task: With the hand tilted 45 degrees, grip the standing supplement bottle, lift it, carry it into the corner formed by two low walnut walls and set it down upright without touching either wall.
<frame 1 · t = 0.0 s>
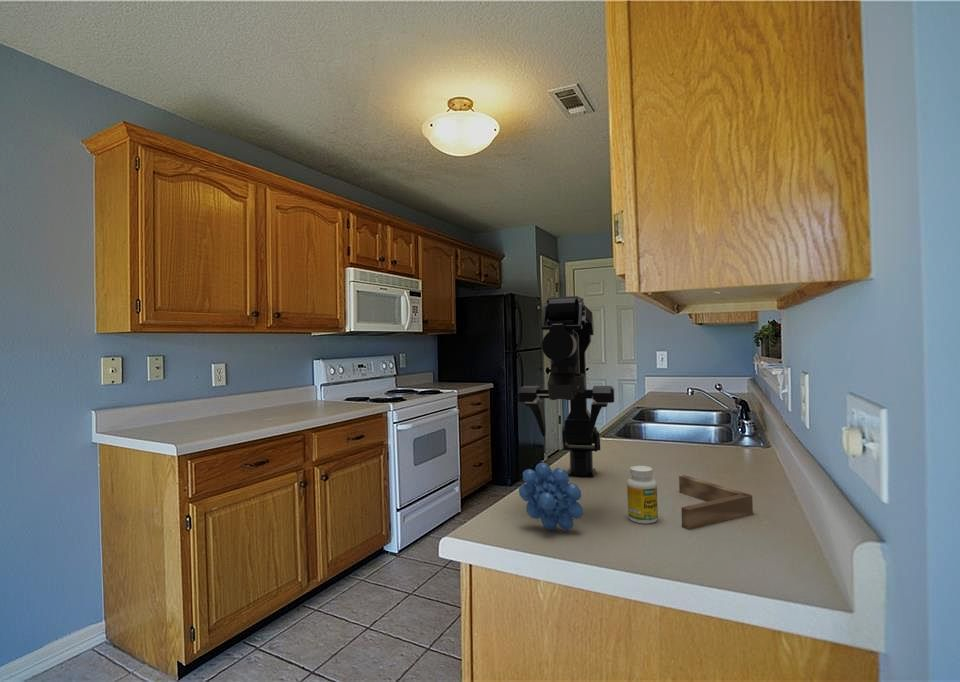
hand: (566, 437, 98), 15 cm above the counter, tool pointing down, fingers open, 9 cm apart
supplement bottle: (642, 520, 92), on the counter
walnut corner walls: (685, 513, 95), on the counter
grapes: (550, 532, 87), on the counter
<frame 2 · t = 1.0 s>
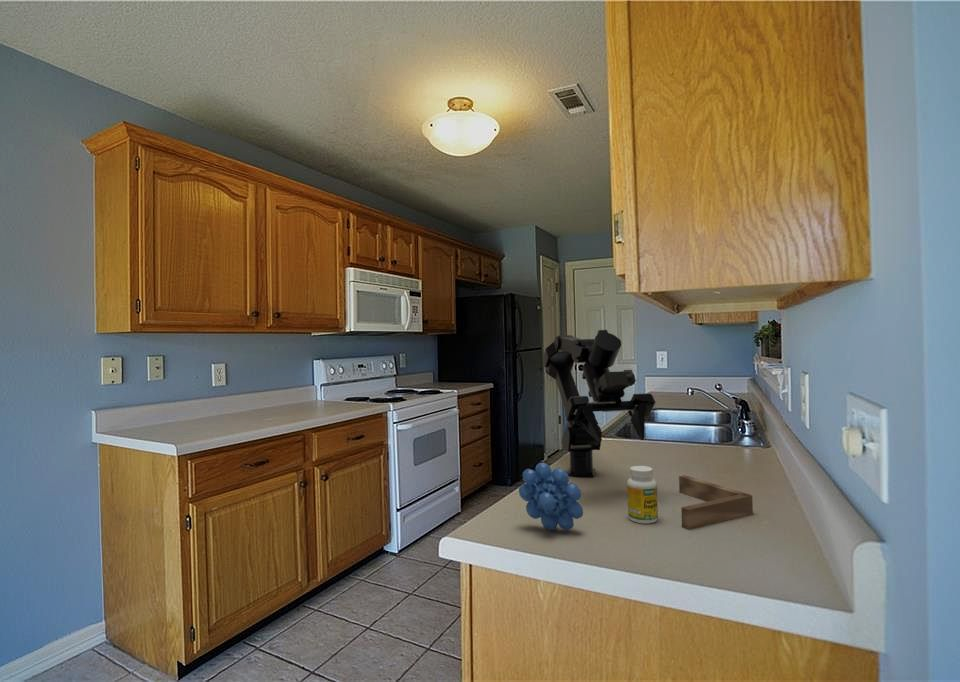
hand: (621, 440, 100), 13 cm above the counter, tool tilted 45°, fingers open, 9 cm apart
nothing on the counter moved.
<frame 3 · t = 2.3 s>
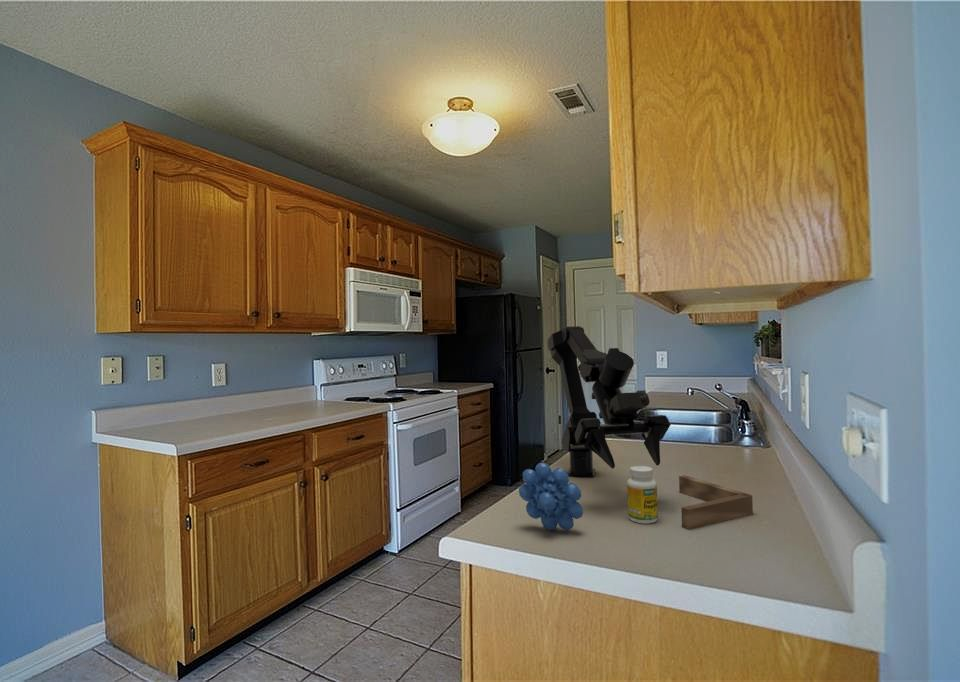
hand: (636, 465, 94), 9 cm above the counter, tool tilted 45°, fingers open, 9 cm apart
nothing on the counter moved.
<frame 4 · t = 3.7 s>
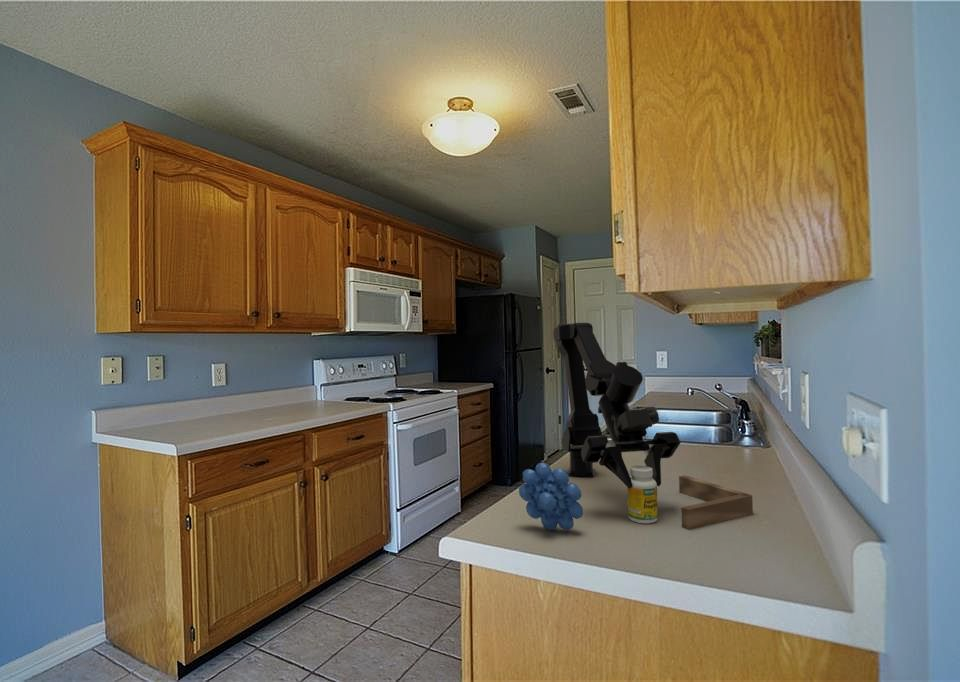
hand: (645, 486, 91), 7 cm above the counter, tool tilted 45°, fingers closed on supplement bottle, 5 cm apart
supplement bottle: (642, 520, 92), on the counter, touching gripper
everything else where it was.
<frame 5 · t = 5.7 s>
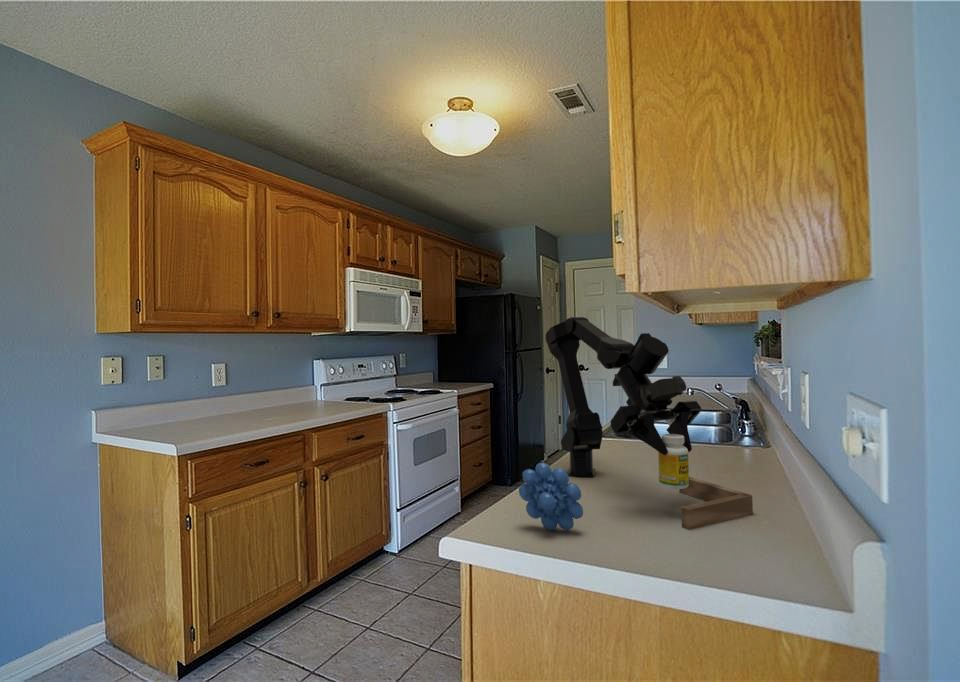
hand: (678, 452, 93), 12 cm above the counter, tool tilted 45°, fingers closed on supplement bottle, 5 cm apart
supplement bottle: (673, 486, 94), point 5 cm above the counter, touching gripper
everything else where it was.
when the fingers open (8 cm above the counter, at t = 7.4 s): supplement bottle drops 1 cm, on the counter.
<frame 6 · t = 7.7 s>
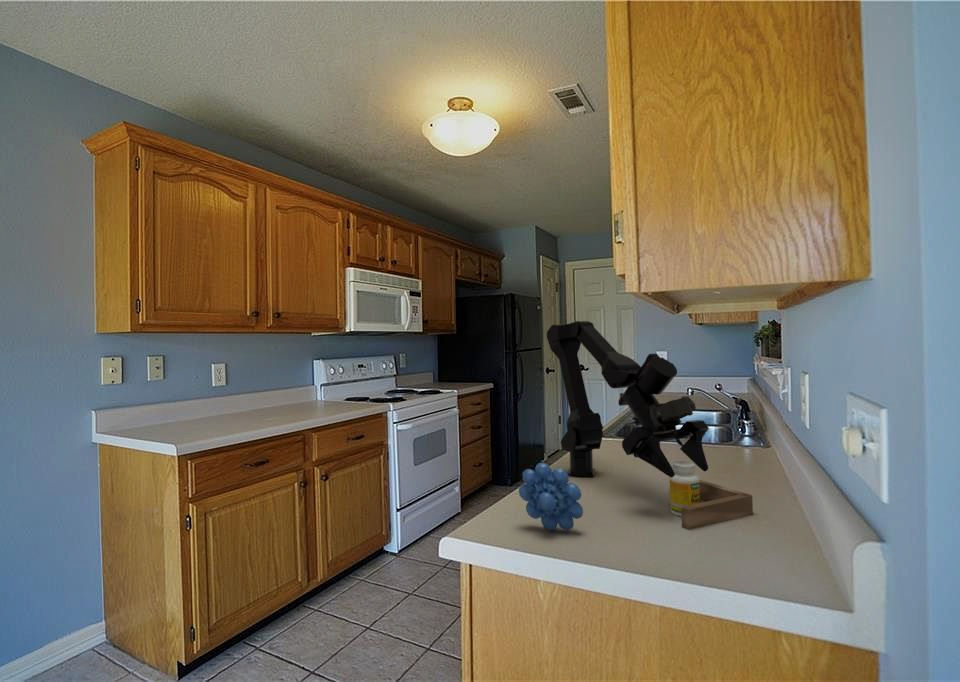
hand: (690, 473, 93), 8 cm above the counter, tool tilted 45°, fingers open, 8 cm apart
supplement bottle: (685, 514, 95), on the counter
everything else where it was.
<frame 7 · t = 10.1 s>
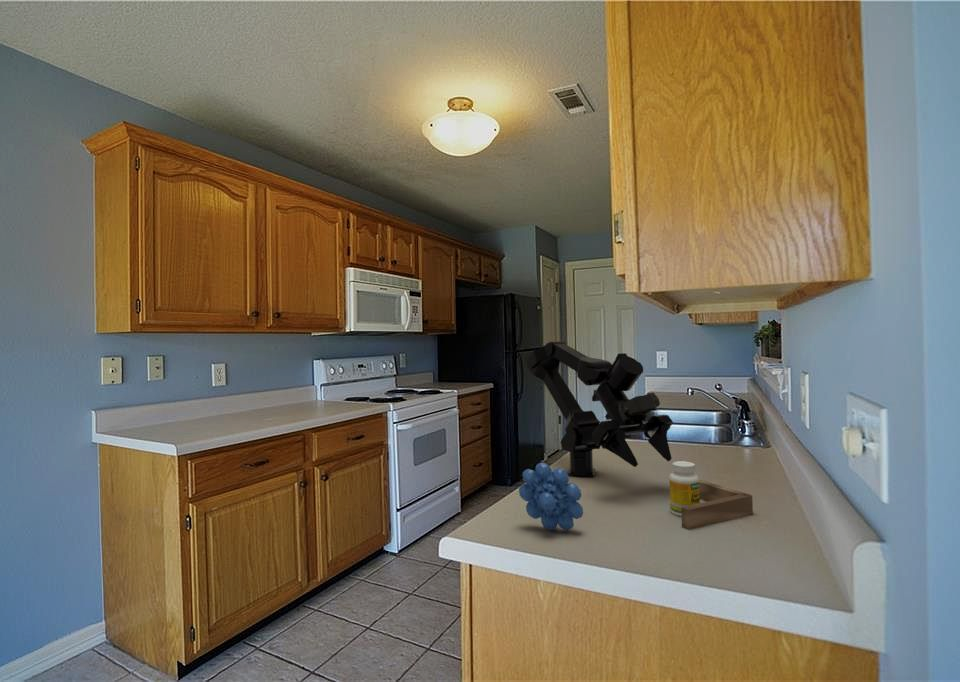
hand: (653, 462, 102), 8 cm above the counter, tool tilted 45°, fingers open, 9 cm apart
nothing on the counter moved.
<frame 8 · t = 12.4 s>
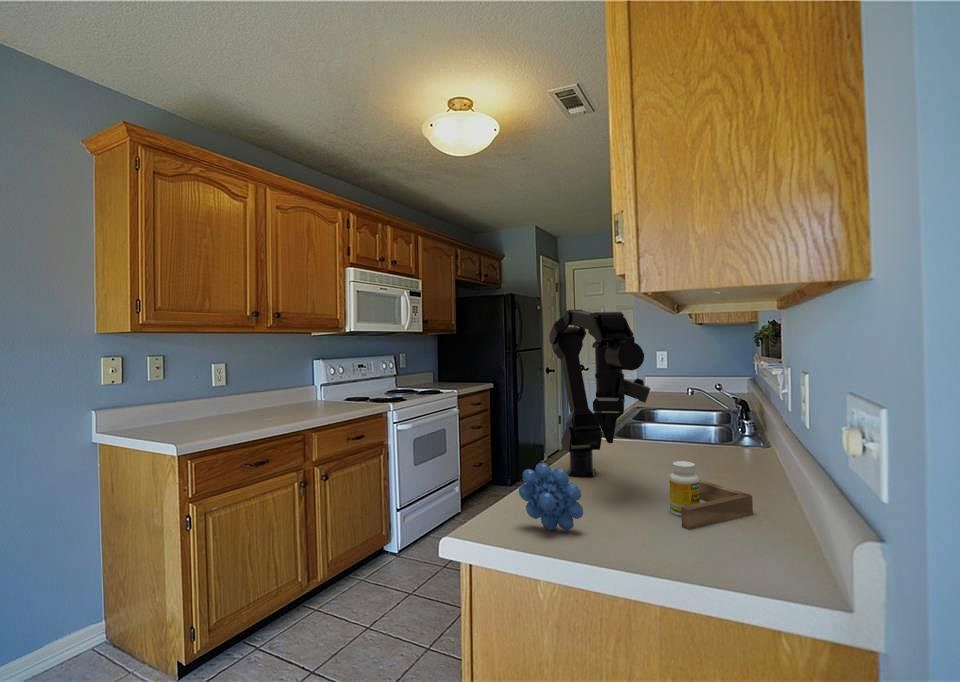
hand: (610, 438, 108), 12 cm above the counter, tool pointing down, fingers open, 9 cm apart
nothing on the counter moved.
at the end: supplement bottle 0.1 cm off-centre on the walnut corner walls, point 0.0 cm above the walnut corner walls's base; supplement bottle tilted 0°; supplement bottle touching counter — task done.
